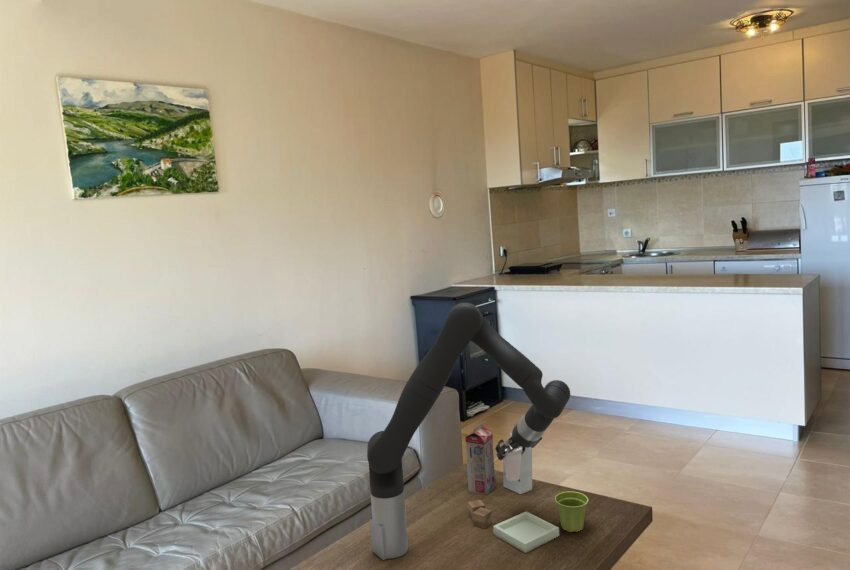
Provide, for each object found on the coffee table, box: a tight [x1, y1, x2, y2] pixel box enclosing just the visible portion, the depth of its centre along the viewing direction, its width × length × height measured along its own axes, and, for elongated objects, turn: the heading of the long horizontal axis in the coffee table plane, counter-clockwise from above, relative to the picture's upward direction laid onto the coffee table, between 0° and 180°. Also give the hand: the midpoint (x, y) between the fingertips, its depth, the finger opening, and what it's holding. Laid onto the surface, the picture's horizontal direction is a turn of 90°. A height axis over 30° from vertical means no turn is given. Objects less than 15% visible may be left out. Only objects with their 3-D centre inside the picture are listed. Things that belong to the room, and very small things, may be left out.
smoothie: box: [502, 432, 523, 481], centre depth 190 cm, size 6×6×14 cm
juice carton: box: [465, 421, 496, 495], centre depth 208 cm, size 7×7×22 cm
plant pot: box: [554, 490, 589, 533], centre depth 181 cm, size 9×9×9 cm
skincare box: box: [502, 447, 533, 495], centre depth 207 cm, size 8×6×15 cm
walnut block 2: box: [472, 507, 493, 530], centre depth 186 cm, size 4×4×4 cm
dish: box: [492, 511, 560, 554], centre depth 178 cm, size 13×13×2 cm
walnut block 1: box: [467, 499, 486, 520], centre depth 191 cm, size 4×4×4 cm
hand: (509, 454), depth 191 cm, fingers closed on smoothie, 6 cm apart
